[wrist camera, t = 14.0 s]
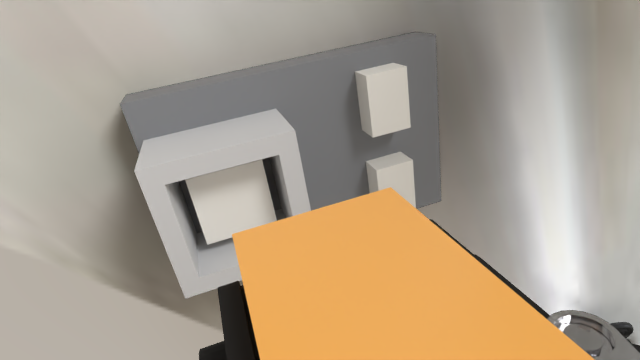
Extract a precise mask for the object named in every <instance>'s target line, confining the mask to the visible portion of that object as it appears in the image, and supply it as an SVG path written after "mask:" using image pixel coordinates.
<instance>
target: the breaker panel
mask: <svg viewBox="0 0 640 360" xmlns="http://www.w3.org/2000/svg"><path fill="white" fill-rule="evenodd" d="M120 106H121V109H122V111H123V114H124V116H125V119H126V121H127V124H128V127H129V129H130V132H131V134H132V137H133V139H134V142H135V145H136V147H137V150H138V152H139V157H138V160H137V163H136V166H135V170H134V172H135V175H136V177H137V180H138V182H139V185H140V187H141V190H142V192H143V195H144V197H145V199H146V202H147V204H148V207H149V209H150V212H151V214H152V217H153V219H154V222H155V224H156V227H157V229H158V232H159V234H160V237H161V239H162V242H163V244H164V247H165V249H166V252H167V254H168V257H169V259H170V262H171V264H172V267H173V269H174V272H175V274H176V277H177V279H178V282H179V284H180V287H181V289H182V292H183V294H184V297H185V299H186V298H189V297H192V296H195V295H198V294H201V293H205V292H208V291H211V290H214V289H217V288H218V287H220V286H223V285H226V284H229V283H232V282H236V281H242V277H241V272H240V268H239V264H238V259H237V255H236V250H235V246H234V241H233V237H231V238H228V239H225V240H221V241H218V242H215V243H211V244H208V245H207V242H206V239H205V237H204V234H203V231H202V228H201V225H200V222H199V219H198V216H197V213H196V210H195V207H194V205H193V202H192V199H191V196H190V193H189V190H188V187H187V184H186V181H185V179H189V178H193V177H197V176H200V175H204V174H208V173H212V172H216V171H219V170H223V169H227V168H231V167H234V166H238V165H242V164H246V163H250V162H253V161H257V160H261V159H262V161H263V165H264V170H265V174H266V178H267V182H268V186H269V190H270V194H271V198H272V202H273V206H274V211H275V215H276V219H277V221H278V220H281V219H285V218H288V217H292V216H295V215H298V214H302V213H305V212H309V211H312V210H315V209H319V208H322V207H325V206H329V205H332V204H336V203H339V202H342V201H346V200H349V199H352V198H356V197H359V196H363V195H366V194H369V193H373V192H376V191H379V190H383V189H386V188H390V187H391V188H392V189H394V190H395V191H396V192H397V193H398V194H399V195H401V196H402V197H403V198H404V199H405V200H407V201H408V202H409V203H410V204H411V205H412V206H414V207H415V208H416V209H417V208H421V207H424V206H427V205H430V204H433V203H437V202H440V201H441V178H440V147H439V116H438V85H437V55H436V34H428V33H420V32H412V33H408V34H403V35H399V36H394V37H389V38H385V39H380V40H376V41H371V42H366V43H362V44H357V45H353V46H348V47H343V48H339V49H334V50H330V51H325V52H320V53H316V54H311V55H307V56H302V57H297V58H293V59H288V60H284V61H279V62H274V63H270V64H265V65H261V66H256V67H251V68H247V69H242V70H238V71H233V72H228V73H224V74H219V75H215V76H210V77H205V78H201V79H196V80H192V81H187V82H182V83H178V84H173V85H168V86H164V87H159V88H155V89H150V90H145V91H141V92H136V93H132V94H127V95H126V96H125V97H124V99H123V100H122V102H121V103H120Z"/></svg>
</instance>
